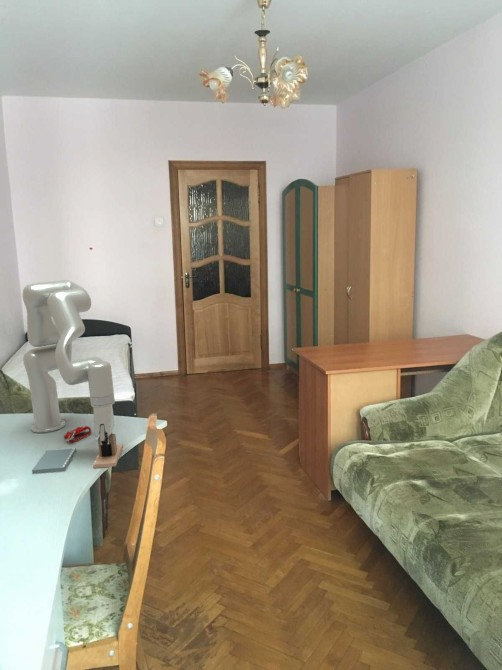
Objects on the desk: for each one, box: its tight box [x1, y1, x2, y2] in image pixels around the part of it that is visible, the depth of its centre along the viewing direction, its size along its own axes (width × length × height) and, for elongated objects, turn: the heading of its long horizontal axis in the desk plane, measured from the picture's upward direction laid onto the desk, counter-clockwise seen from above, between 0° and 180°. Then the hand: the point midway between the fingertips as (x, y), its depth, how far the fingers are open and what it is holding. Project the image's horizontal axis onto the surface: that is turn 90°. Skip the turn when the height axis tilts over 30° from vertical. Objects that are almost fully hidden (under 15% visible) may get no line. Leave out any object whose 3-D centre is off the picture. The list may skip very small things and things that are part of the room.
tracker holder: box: [63, 425, 92, 443], centre depth 202 cm, size 12×4×10 cm
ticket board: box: [31, 447, 77, 475], centre depth 181 cm, size 16×10×1 cm, turn 5°
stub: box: [92, 433, 124, 469], centre depth 181 cm, size 16×7×7 cm, turn 5°
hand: (108, 452), depth 182 cm, fingers closed on stub, 4 cm apart
